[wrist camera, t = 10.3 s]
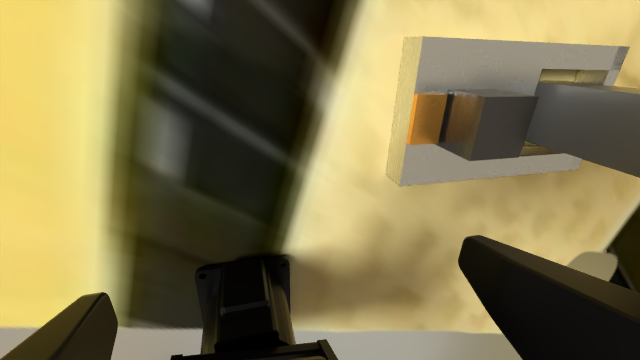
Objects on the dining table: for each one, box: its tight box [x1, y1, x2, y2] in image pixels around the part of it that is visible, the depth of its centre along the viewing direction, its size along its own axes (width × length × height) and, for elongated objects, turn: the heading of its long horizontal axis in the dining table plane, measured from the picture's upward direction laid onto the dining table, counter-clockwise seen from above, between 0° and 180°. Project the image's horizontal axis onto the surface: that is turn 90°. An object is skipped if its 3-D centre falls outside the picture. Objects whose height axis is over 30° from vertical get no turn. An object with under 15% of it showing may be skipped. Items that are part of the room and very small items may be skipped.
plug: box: [525, 81, 640, 177], centre depth 18 cm, size 4×4×9 cm
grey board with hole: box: [386, 37, 629, 186], centre depth 19 cm, size 9×16×5 cm, turn 88°
